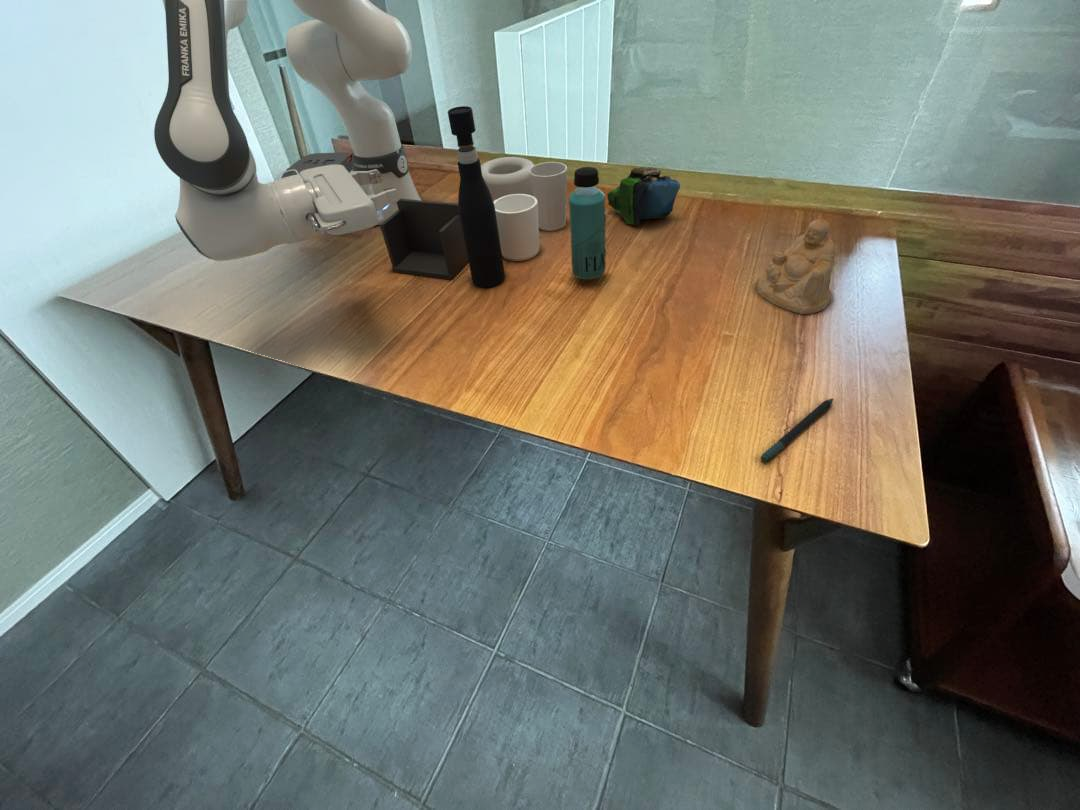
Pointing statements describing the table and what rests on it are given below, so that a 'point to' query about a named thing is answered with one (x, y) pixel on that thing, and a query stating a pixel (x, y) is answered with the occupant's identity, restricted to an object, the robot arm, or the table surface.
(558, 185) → the cup
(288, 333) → the table surface
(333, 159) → the streaming box
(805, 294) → the statue
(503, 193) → the thick torus
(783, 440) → the pen
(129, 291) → the table surface
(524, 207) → the mug
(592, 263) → the beverage bottle
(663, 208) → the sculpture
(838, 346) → the table surface
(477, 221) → the wine bottle
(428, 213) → the book rack
